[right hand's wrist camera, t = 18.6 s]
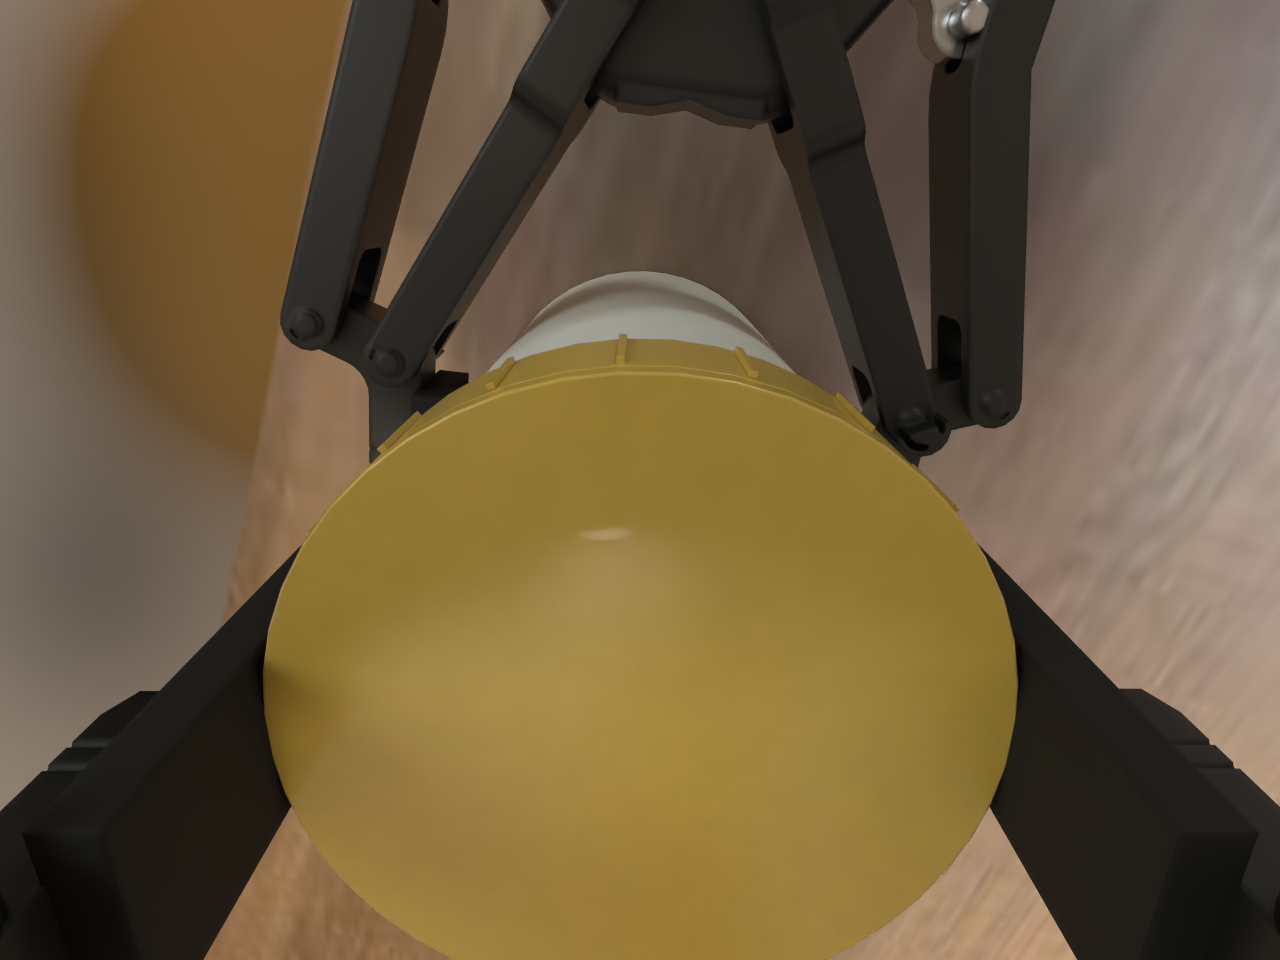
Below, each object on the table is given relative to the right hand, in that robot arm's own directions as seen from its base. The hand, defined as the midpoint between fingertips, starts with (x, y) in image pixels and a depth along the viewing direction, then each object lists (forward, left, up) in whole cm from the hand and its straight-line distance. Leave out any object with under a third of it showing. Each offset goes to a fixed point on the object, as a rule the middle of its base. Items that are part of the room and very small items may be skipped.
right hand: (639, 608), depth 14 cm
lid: (0, 0, +3) cm, 3 cm away
